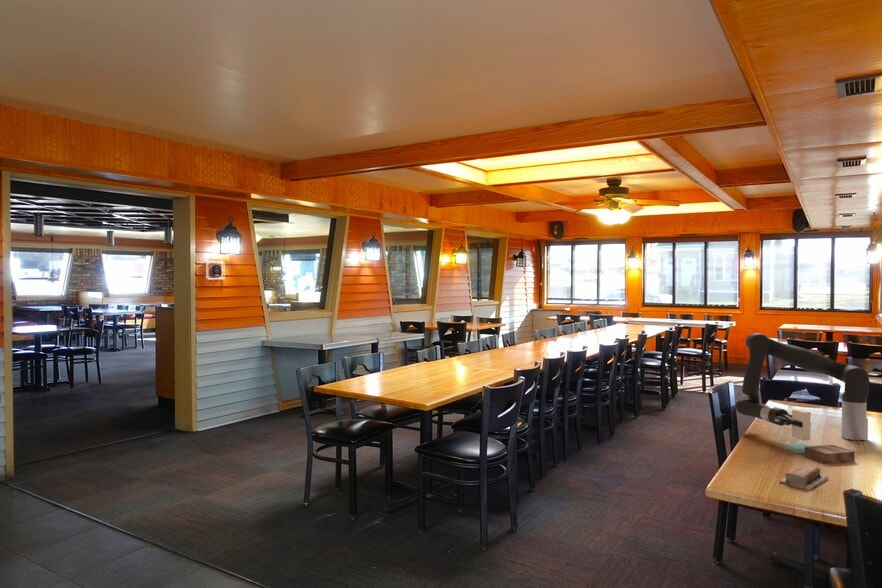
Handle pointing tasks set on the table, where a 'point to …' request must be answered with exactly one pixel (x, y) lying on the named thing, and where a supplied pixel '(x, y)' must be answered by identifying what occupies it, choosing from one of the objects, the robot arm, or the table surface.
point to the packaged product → (804, 477)
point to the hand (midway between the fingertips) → (805, 424)
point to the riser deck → (829, 454)
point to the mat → (795, 448)
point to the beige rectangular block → (805, 418)
